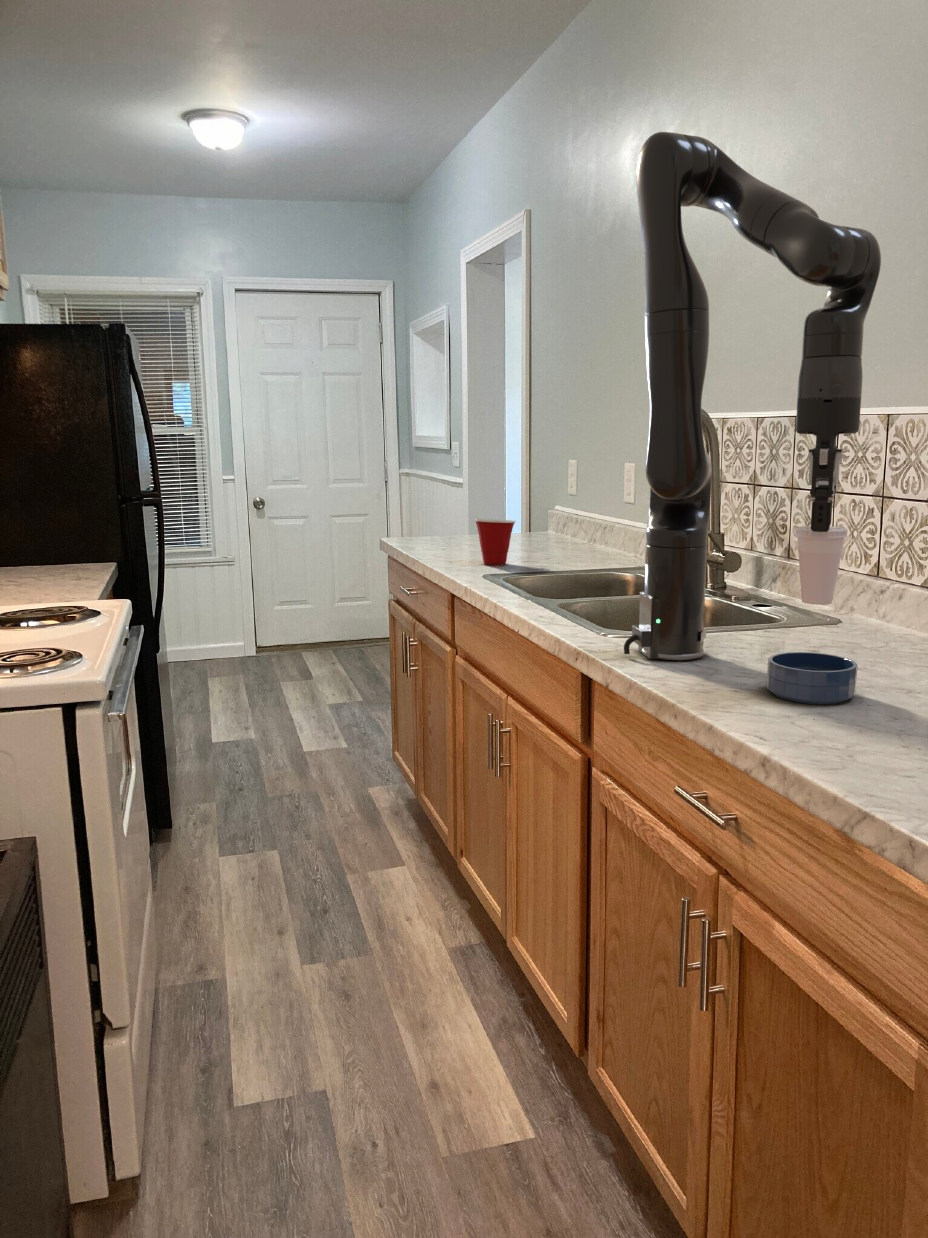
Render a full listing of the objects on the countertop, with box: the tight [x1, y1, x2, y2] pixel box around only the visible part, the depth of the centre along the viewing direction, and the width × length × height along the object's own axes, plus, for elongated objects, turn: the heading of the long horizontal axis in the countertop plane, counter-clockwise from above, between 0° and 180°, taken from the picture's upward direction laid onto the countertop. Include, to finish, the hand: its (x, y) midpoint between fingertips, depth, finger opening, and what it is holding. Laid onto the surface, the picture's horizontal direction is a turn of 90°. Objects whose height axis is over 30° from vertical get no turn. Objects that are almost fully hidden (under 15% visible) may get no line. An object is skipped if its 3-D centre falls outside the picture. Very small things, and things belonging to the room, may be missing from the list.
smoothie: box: [794, 501, 848, 606], centre depth 125 cm, size 6×6×14 cm
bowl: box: [766, 651, 858, 705], centre depth 128 cm, size 11×11×4 cm
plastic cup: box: [474, 518, 517, 567], centre depth 251 cm, size 11×11×12 cm
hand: (820, 528), depth 124 cm, fingers closed on smoothie, 6 cm apart
